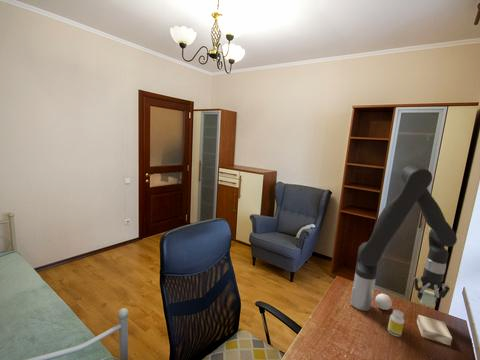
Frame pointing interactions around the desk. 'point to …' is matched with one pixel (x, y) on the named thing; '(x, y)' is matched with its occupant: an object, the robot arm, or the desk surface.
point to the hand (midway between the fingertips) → (426, 300)
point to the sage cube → (428, 298)
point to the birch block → (434, 330)
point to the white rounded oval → (383, 301)
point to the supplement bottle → (396, 323)
